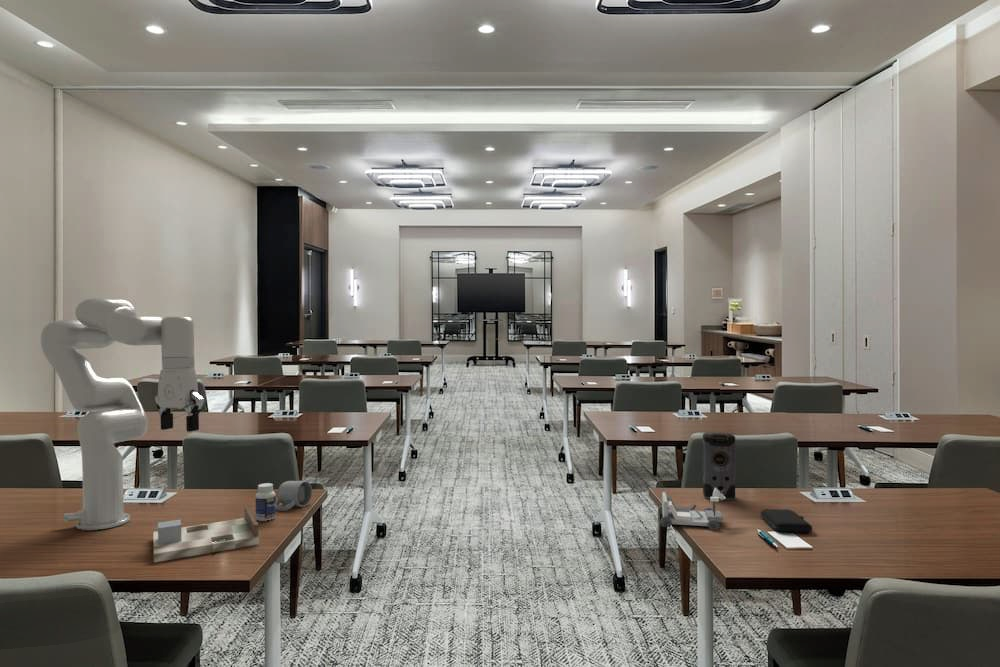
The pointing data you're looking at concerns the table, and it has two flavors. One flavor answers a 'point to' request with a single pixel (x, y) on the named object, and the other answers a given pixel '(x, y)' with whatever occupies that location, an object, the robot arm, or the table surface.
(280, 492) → the ceramic mug
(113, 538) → the table surface
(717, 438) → the electronic device
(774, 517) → the carrying case or bag
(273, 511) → the pill bottle
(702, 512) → the toy car
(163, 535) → the block
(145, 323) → the robot arm
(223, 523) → the board
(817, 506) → the table surface
